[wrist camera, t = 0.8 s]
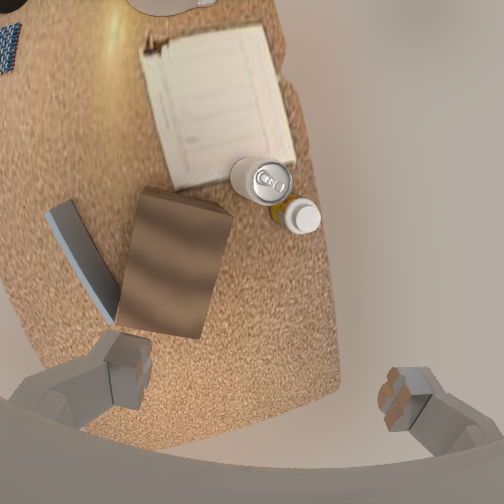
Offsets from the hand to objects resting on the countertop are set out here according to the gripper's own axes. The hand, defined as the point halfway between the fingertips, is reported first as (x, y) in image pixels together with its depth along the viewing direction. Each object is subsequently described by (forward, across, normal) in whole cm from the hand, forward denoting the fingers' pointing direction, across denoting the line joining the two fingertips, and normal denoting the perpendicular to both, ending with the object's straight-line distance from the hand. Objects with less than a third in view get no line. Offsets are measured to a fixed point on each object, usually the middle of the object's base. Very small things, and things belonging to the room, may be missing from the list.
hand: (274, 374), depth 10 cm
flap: (+37, +25, +12) cm, 46 cm away
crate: (+41, +13, +12) cm, 45 cm away
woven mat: (+35, +50, -21) cm, 64 cm away
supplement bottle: (+47, -5, +3) cm, 47 cm away
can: (+45, +2, -1) cm, 45 cm away
